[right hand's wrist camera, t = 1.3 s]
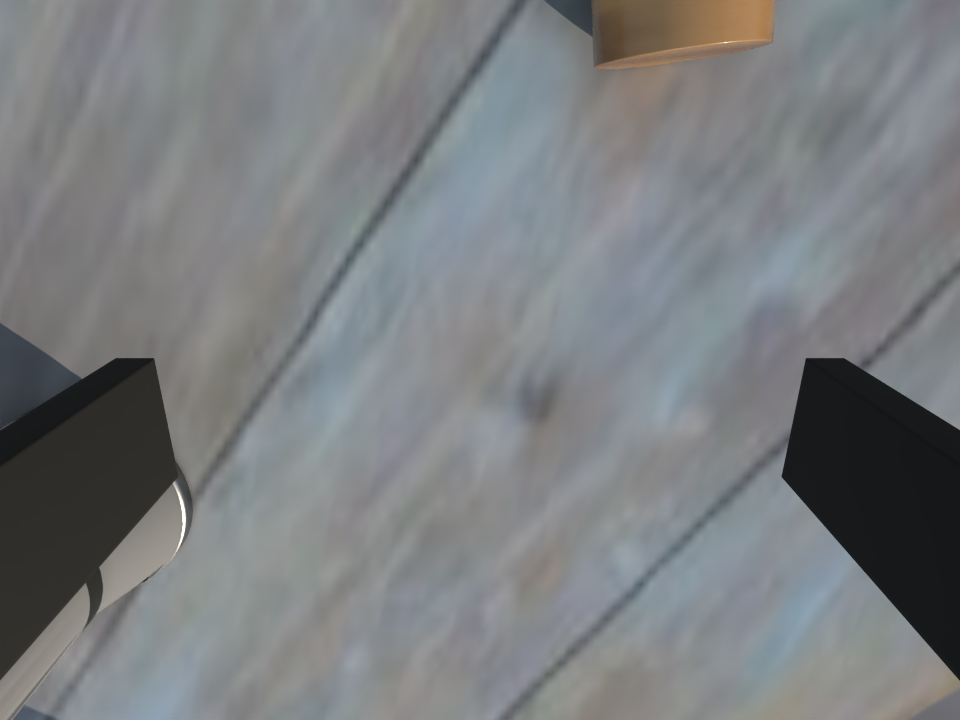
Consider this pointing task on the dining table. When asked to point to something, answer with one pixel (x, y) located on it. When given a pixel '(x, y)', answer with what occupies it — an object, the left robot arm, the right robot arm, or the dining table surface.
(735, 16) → the rod
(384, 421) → the dining table surface
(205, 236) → the dining table surface
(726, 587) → the dining table surface
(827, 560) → the dining table surface
